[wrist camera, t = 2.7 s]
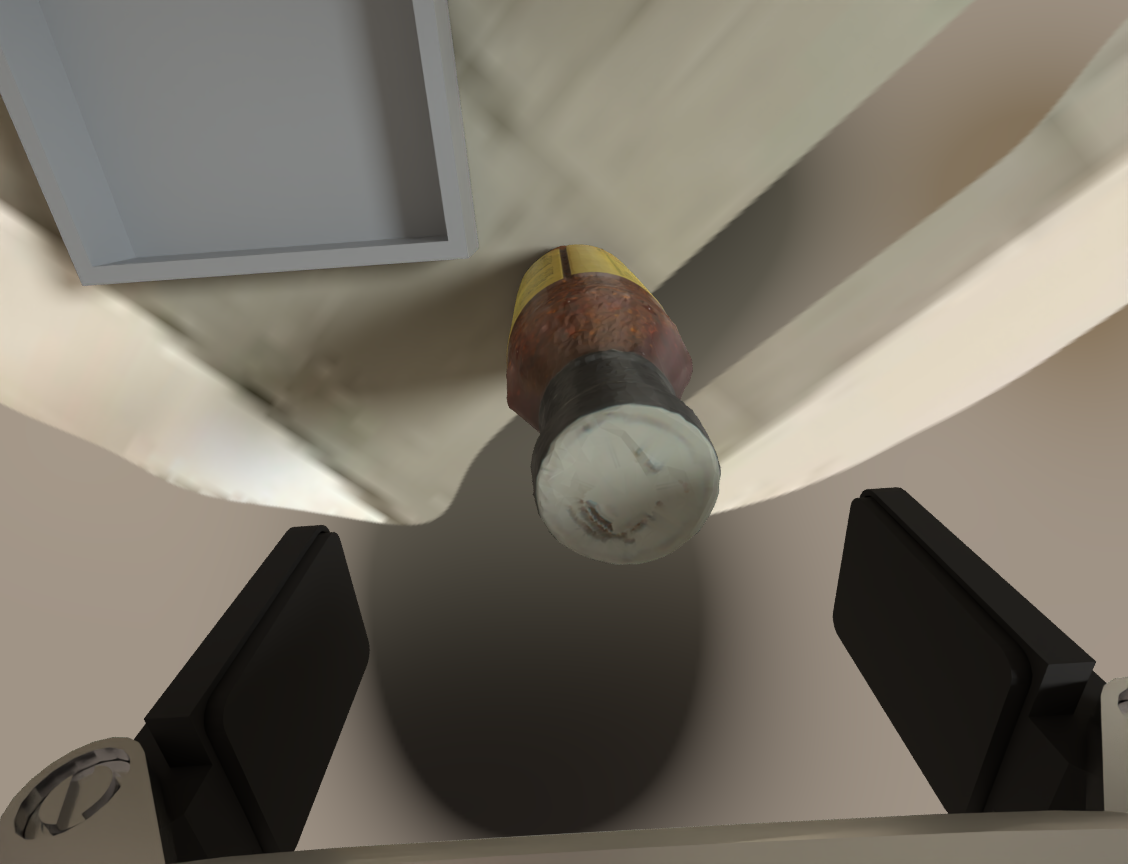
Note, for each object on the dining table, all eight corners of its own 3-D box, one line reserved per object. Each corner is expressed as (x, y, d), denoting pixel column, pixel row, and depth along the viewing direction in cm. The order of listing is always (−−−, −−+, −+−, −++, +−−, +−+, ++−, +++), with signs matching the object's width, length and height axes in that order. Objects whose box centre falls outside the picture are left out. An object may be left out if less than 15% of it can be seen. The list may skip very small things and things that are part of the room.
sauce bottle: (535, 368, 31) (496, 636, 13) (504, 255, 29) (407, 400, 11) (650, 342, 31) (772, 587, 13) (630, 224, 28) (747, 324, 10)
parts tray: (415, -254, 21) (388, -328, 18) (478, 247, 29) (468, 257, 26) (-51, -208, 22) (-156, -273, 18) (134, 272, 29) (82, 285, 26)
